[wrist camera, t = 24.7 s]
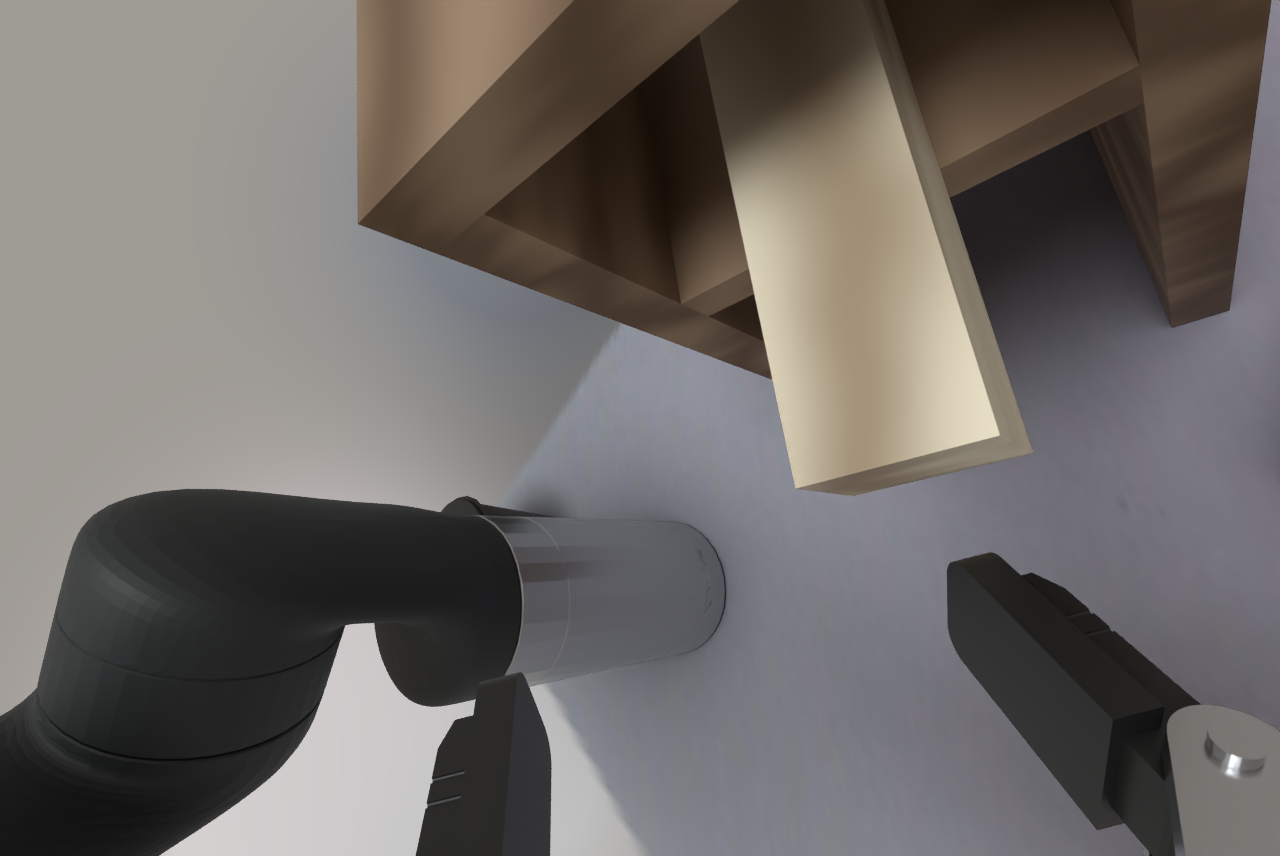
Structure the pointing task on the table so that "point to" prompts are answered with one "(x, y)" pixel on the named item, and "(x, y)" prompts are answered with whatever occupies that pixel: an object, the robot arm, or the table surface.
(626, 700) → the table surface
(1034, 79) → the walnut rack
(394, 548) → the robot arm
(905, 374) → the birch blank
